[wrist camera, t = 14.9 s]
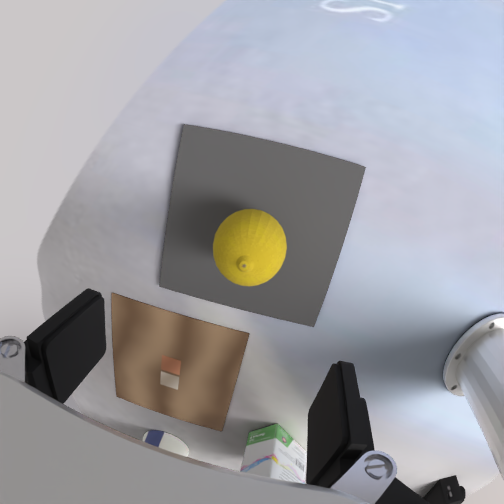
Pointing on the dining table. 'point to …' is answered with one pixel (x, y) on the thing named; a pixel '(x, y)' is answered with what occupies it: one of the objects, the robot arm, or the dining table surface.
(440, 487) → the digital camera
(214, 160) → the rubber mat
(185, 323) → the board
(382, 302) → the dining table surface
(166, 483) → the robot arm
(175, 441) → the water bottle
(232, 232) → the lemon
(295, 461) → the ink box
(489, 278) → the dining table surface
